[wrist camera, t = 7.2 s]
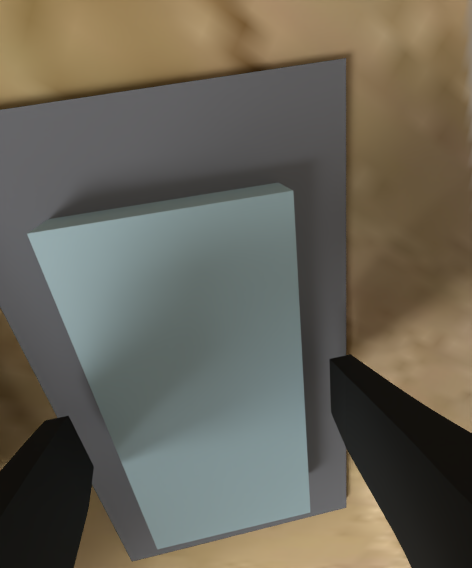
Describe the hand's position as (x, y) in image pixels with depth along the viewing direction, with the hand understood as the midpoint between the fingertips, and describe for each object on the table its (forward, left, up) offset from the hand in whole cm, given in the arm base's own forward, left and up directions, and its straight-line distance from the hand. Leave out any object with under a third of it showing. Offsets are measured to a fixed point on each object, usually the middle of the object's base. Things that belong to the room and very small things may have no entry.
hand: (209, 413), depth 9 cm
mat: (0, 0, -1) cm, 1 cm away
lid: (0, 0, -1) cm, 1 cm away
